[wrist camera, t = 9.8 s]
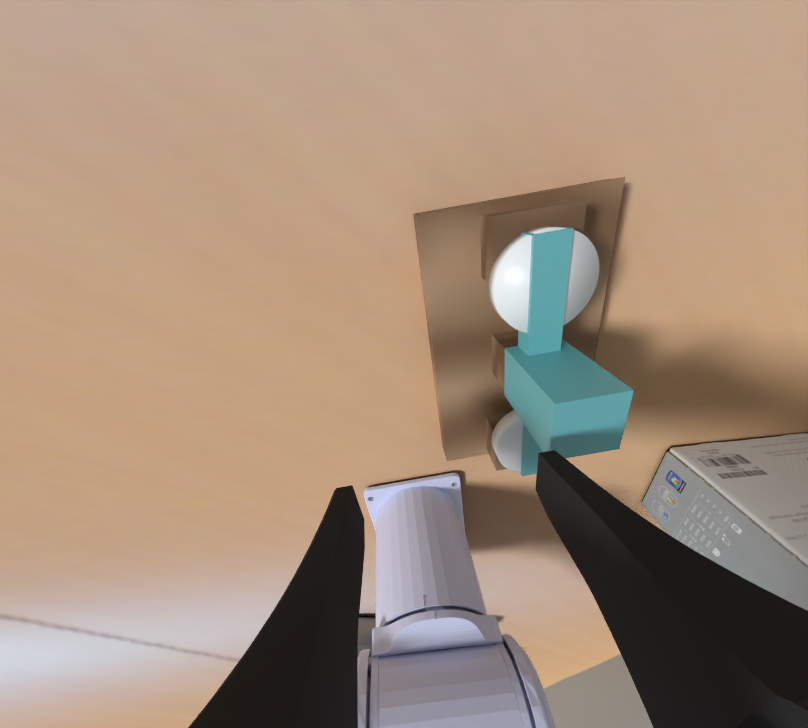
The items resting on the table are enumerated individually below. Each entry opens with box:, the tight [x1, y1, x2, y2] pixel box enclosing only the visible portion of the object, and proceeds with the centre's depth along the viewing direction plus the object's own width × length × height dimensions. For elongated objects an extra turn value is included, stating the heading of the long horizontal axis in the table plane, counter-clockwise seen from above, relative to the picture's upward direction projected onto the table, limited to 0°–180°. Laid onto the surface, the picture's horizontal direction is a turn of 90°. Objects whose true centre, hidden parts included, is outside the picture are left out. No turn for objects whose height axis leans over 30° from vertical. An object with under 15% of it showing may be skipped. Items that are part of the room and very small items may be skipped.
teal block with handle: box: [488, 226, 634, 476], centre depth 14 cm, size 14×5×5 cm, turn 9°
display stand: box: [414, 177, 625, 470], centre depth 18 cm, size 16×10×4 cm, turn 9°
